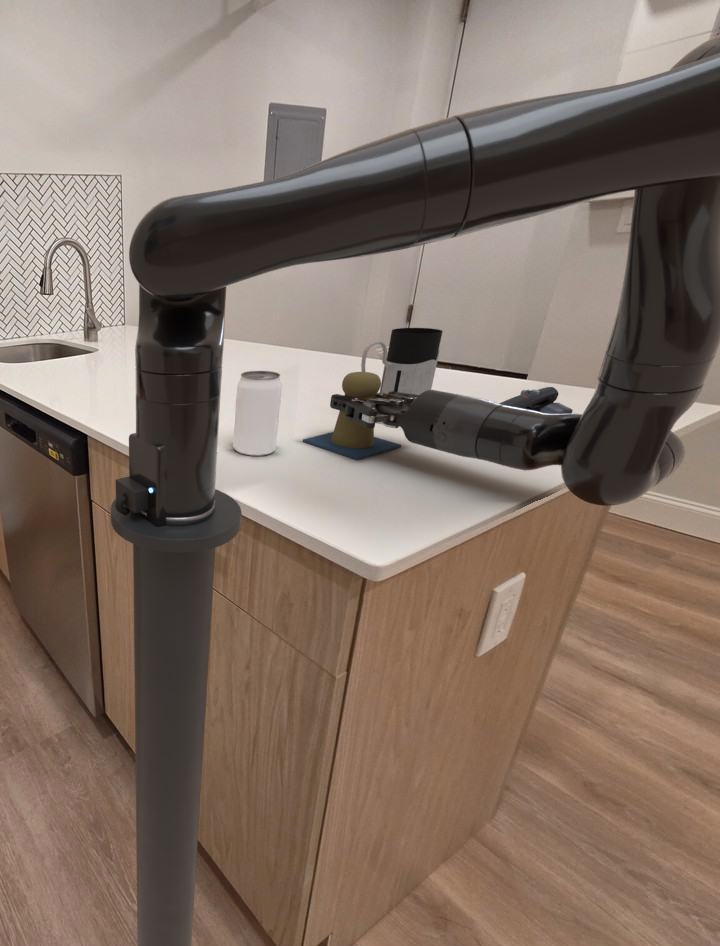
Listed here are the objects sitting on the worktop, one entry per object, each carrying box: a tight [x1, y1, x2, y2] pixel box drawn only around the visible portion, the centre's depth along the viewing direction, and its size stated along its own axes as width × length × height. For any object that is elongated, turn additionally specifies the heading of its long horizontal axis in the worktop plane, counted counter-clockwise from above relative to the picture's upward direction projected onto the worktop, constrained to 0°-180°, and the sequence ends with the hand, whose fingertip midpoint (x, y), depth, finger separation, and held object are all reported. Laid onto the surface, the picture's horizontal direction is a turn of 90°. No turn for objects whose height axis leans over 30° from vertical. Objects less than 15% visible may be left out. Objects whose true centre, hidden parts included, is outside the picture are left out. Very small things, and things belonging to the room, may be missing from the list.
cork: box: [331, 371, 382, 448], centre depth 80 cm, size 6×6×11 cm
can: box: [232, 370, 283, 457], centre depth 80 cm, size 6×6×12 cm
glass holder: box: [360, 327, 443, 395], centre depth 92 cm, size 9×14×15 cm, turn 102°
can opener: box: [498, 386, 574, 414], centre depth 86 cm, size 18×7×6 cm, turn 110°
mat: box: [302, 431, 402, 461], centre depth 83 cm, size 10×10×1 cm
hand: (342, 398), depth 82 cm, fingers closed on cork, 4 cm apart
